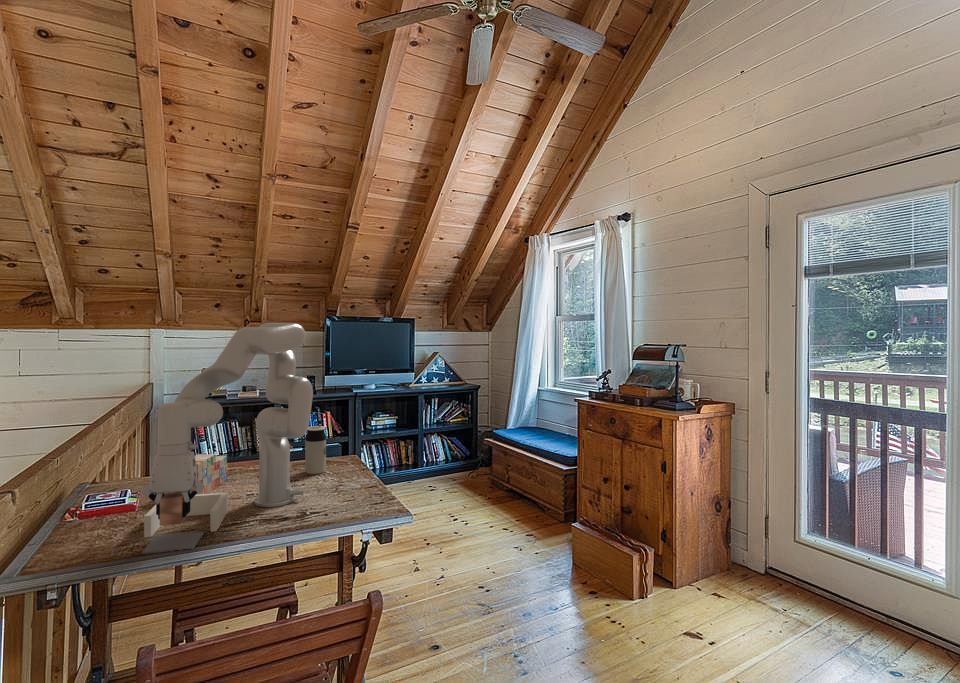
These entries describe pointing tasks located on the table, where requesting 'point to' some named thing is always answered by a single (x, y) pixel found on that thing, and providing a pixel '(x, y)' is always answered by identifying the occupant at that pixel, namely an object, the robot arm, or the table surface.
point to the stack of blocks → (210, 471)
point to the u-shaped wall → (194, 511)
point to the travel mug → (315, 450)
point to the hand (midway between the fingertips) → (173, 515)
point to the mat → (173, 542)
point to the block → (171, 509)
